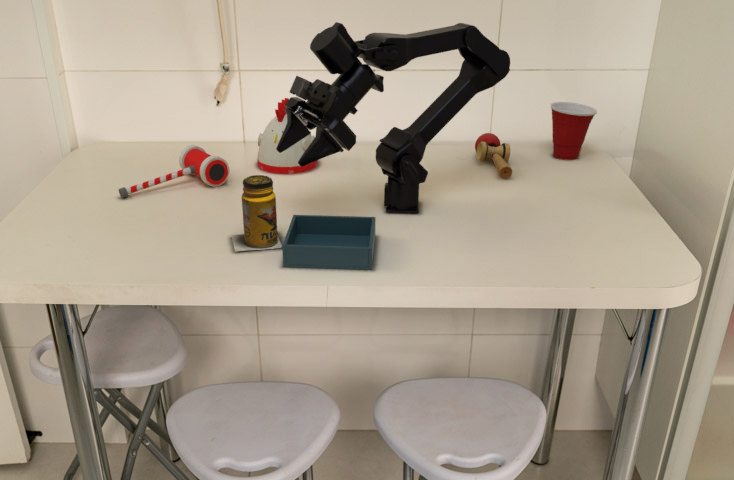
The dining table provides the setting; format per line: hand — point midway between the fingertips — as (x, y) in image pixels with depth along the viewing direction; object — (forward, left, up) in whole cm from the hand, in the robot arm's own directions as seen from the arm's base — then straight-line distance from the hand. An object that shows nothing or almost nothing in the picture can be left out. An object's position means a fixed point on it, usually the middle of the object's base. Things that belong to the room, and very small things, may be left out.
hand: (288, 157), depth 140 cm
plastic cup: (-60, -51, -14) cm, 80 cm away
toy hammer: (+27, -24, -14) cm, 39 cm away
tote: (-8, +9, -14) cm, 19 cm away
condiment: (+6, +6, -14) cm, 17 cm away
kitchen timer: (+6, -40, -14) cm, 43 cm away
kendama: (-42, -42, -14) cm, 61 cm away
